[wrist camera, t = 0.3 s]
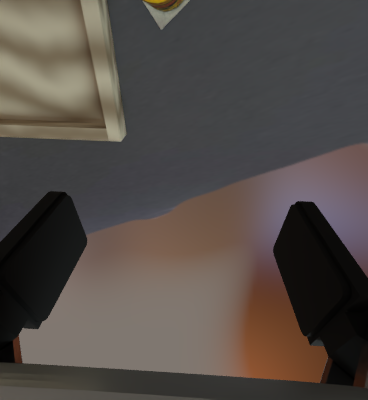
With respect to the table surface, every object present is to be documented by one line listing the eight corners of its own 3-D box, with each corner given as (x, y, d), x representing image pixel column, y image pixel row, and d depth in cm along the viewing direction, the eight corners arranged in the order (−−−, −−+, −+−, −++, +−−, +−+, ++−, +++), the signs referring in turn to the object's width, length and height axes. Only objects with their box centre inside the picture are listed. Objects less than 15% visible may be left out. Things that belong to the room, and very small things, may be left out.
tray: (-122, -90, 23) (-164, -107, 21) (94, -87, 23) (80, -104, 20) (-7, 128, 38) (-23, 135, 35) (126, 133, 37) (120, 141, 35)
